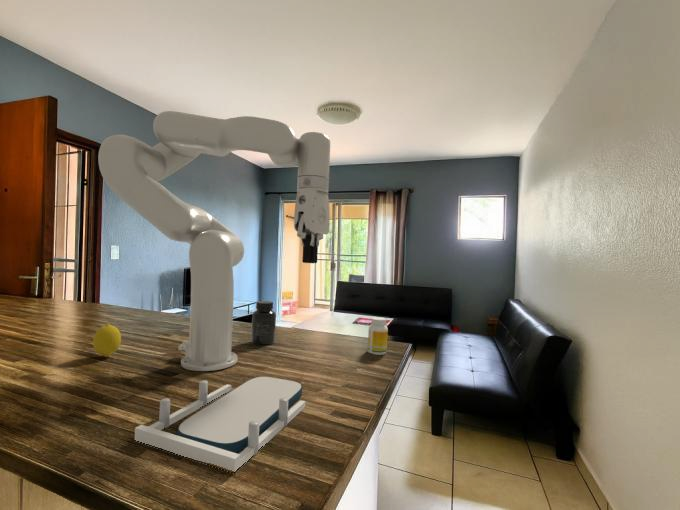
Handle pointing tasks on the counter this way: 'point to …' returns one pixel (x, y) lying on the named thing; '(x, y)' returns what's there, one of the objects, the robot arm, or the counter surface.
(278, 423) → the dock
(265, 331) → the supplement bottle
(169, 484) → the counter surface
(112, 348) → the lemon
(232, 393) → the white blue rounded slab
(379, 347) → the supplement bottle
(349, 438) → the counter surface
